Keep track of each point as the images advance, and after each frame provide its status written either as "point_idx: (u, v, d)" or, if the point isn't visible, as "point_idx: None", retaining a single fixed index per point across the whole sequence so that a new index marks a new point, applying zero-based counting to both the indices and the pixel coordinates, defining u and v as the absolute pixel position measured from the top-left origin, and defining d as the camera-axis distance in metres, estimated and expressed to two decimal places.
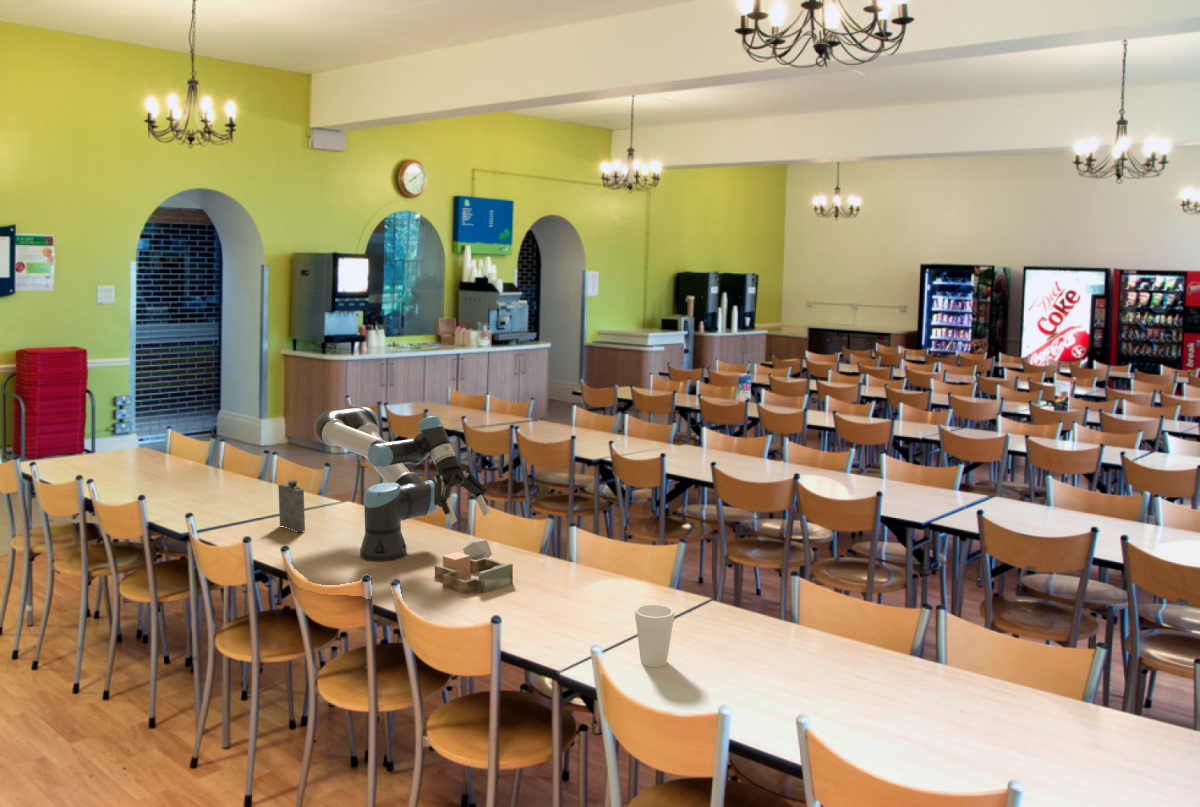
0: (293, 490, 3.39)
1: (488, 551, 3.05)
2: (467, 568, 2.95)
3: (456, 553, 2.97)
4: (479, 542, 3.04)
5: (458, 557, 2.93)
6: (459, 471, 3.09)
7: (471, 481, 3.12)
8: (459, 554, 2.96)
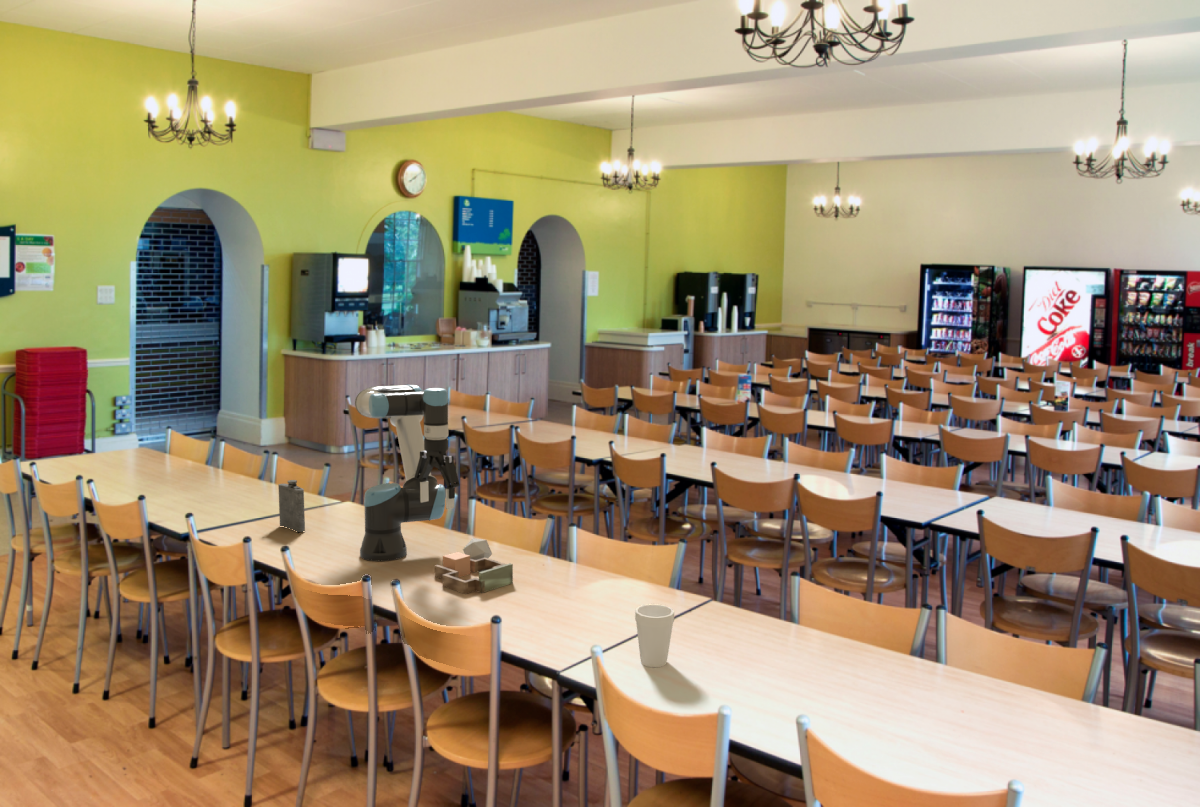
0: (293, 490, 3.39)
1: (488, 551, 3.05)
2: (467, 568, 2.95)
3: (456, 553, 2.97)
4: (479, 542, 3.04)
5: (458, 557, 2.93)
6: (439, 455, 2.95)
7: None
8: (459, 554, 2.96)
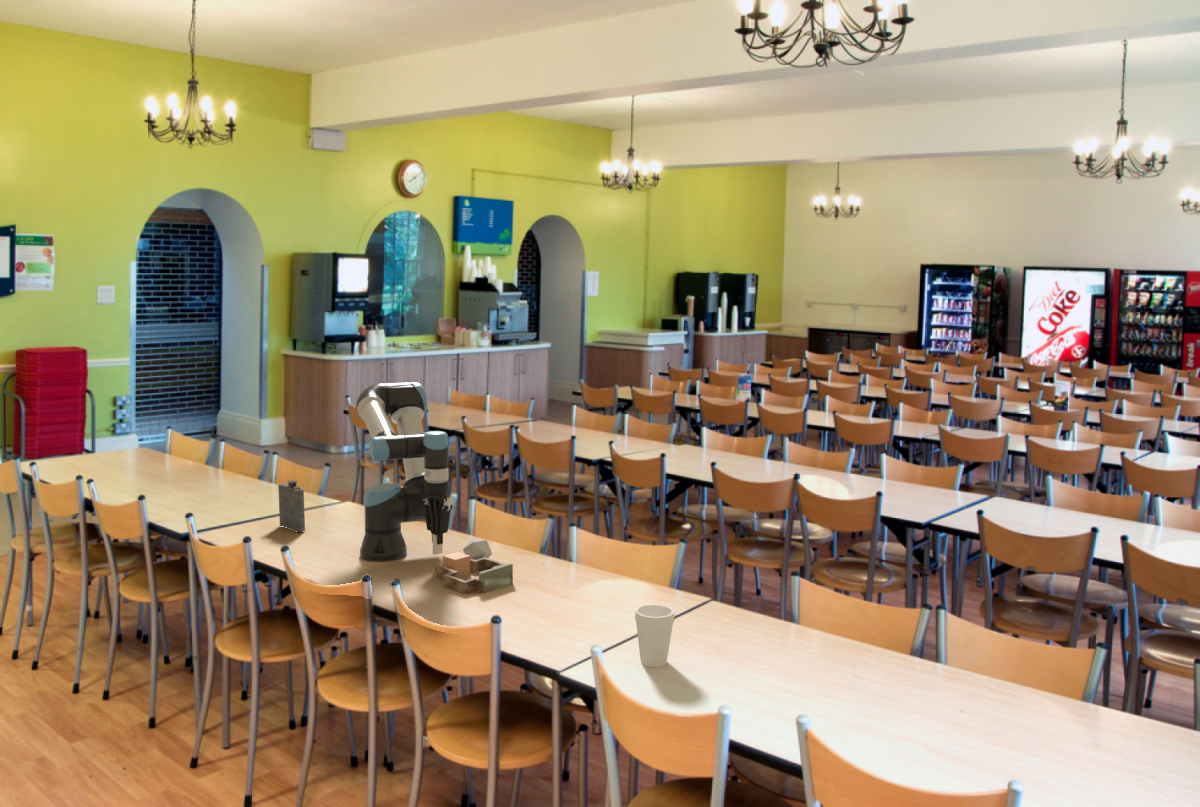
0: (293, 490, 3.39)
1: (488, 551, 3.05)
2: (467, 568, 2.95)
3: (456, 553, 2.97)
4: (479, 542, 3.04)
5: (458, 557, 2.93)
6: (440, 498, 2.96)
7: None
8: (459, 554, 2.96)
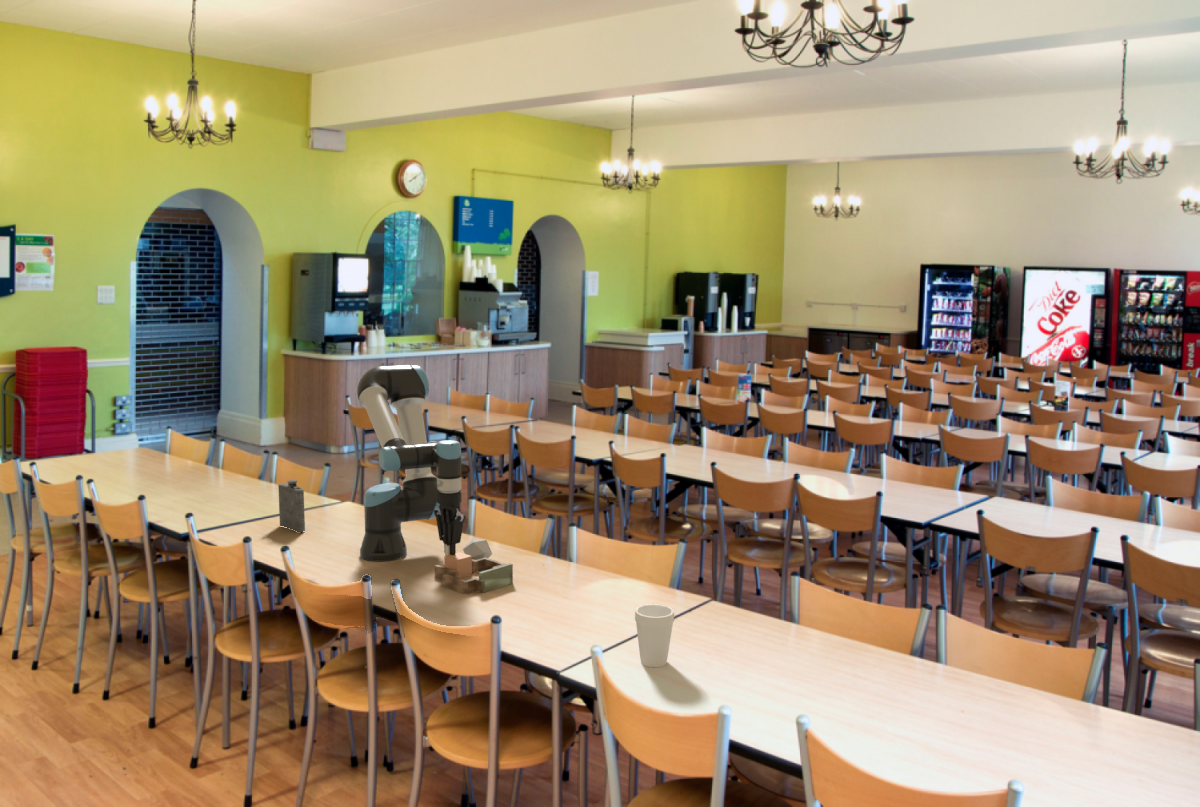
0: (293, 490, 3.39)
1: (488, 551, 3.05)
2: (469, 568, 2.94)
3: (458, 553, 2.97)
4: (479, 542, 3.04)
5: (460, 557, 2.93)
6: (453, 508, 2.92)
7: None
8: (461, 554, 2.96)
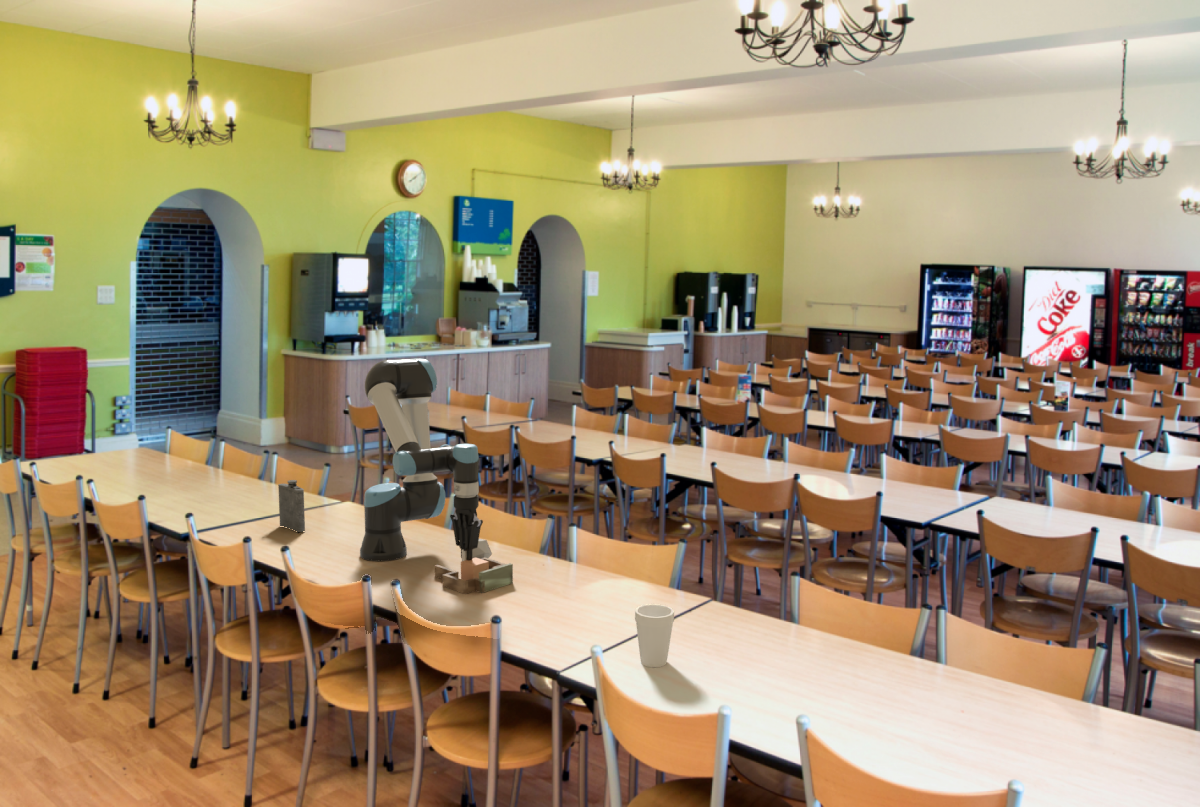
0: (293, 490, 3.39)
1: (488, 551, 3.05)
2: None
3: (474, 559, 2.92)
4: (479, 542, 3.04)
5: (476, 563, 2.87)
6: (470, 513, 2.87)
7: None
8: (478, 560, 2.91)
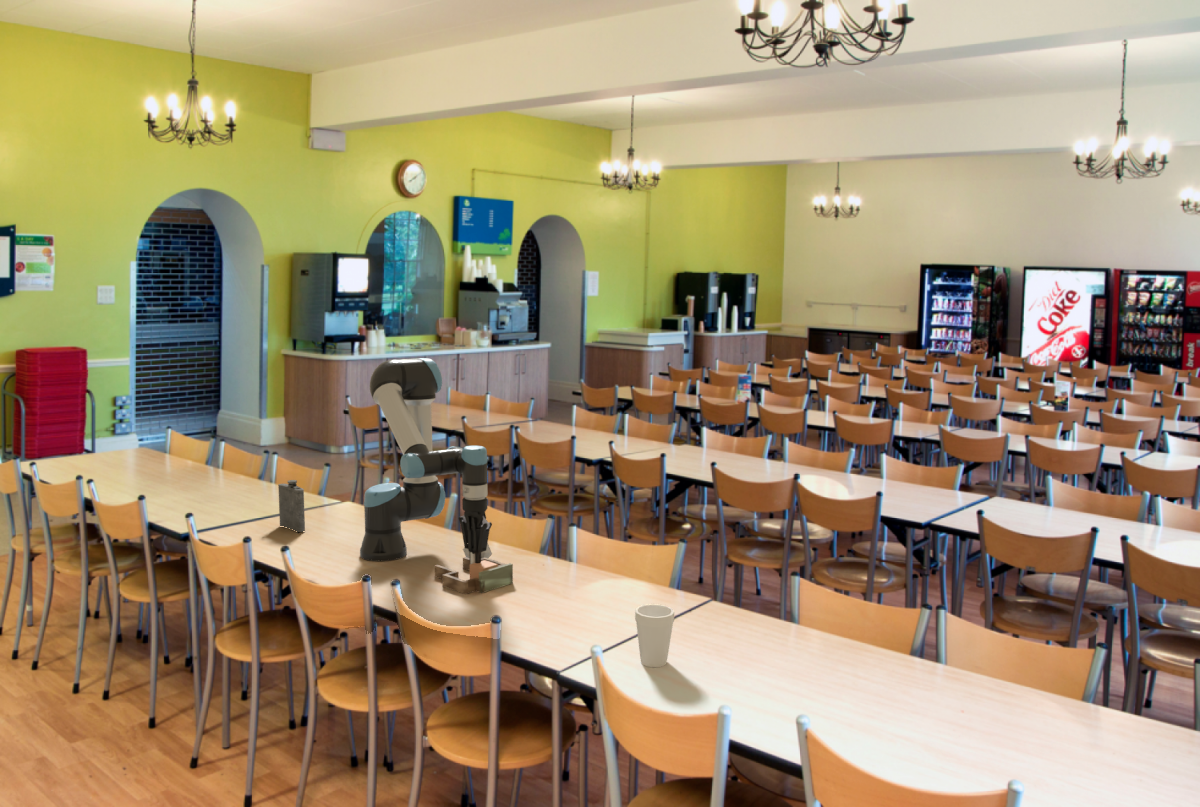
0: (293, 490, 3.39)
1: (488, 551, 3.05)
2: None
3: (483, 561, 2.89)
4: None
5: (485, 566, 2.85)
6: (479, 515, 2.84)
7: None
8: (486, 562, 2.88)
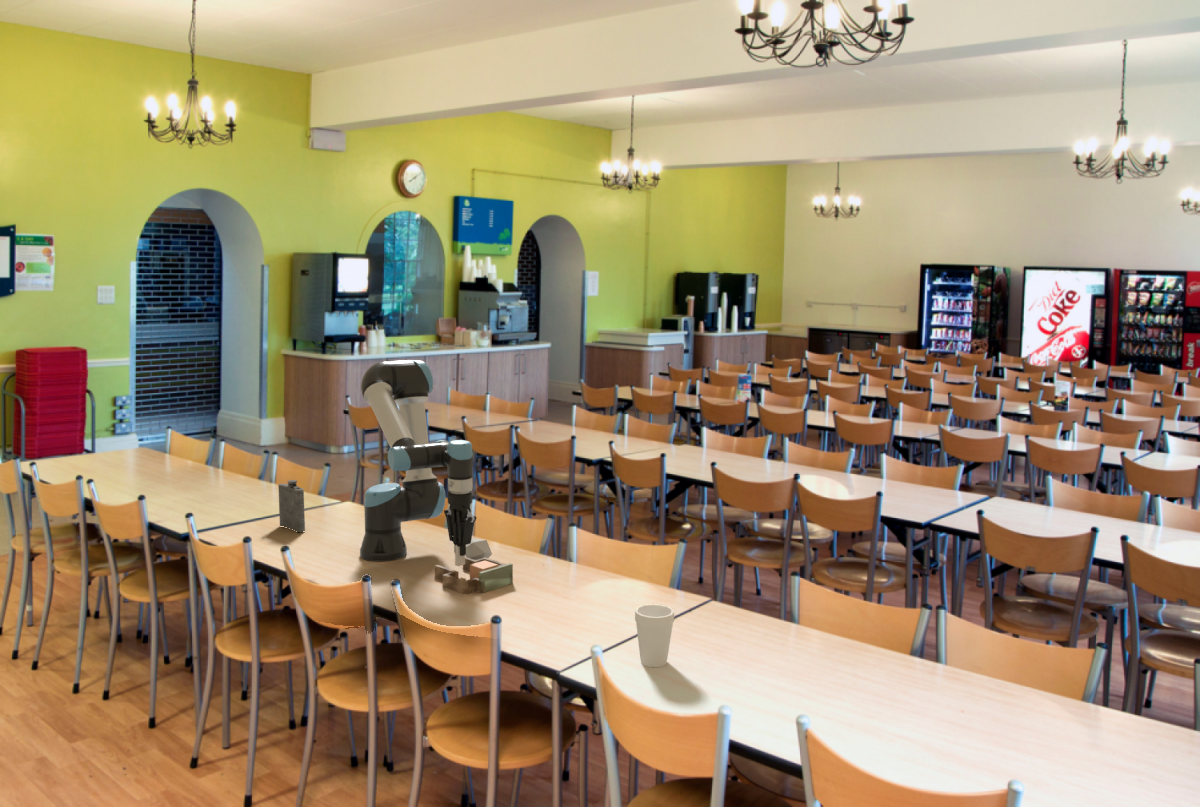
0: (293, 490, 3.39)
1: (488, 551, 3.05)
2: None
3: (483, 562, 2.89)
4: (479, 542, 3.04)
5: (486, 566, 2.85)
6: (463, 509, 2.89)
7: None
8: (487, 563, 2.88)
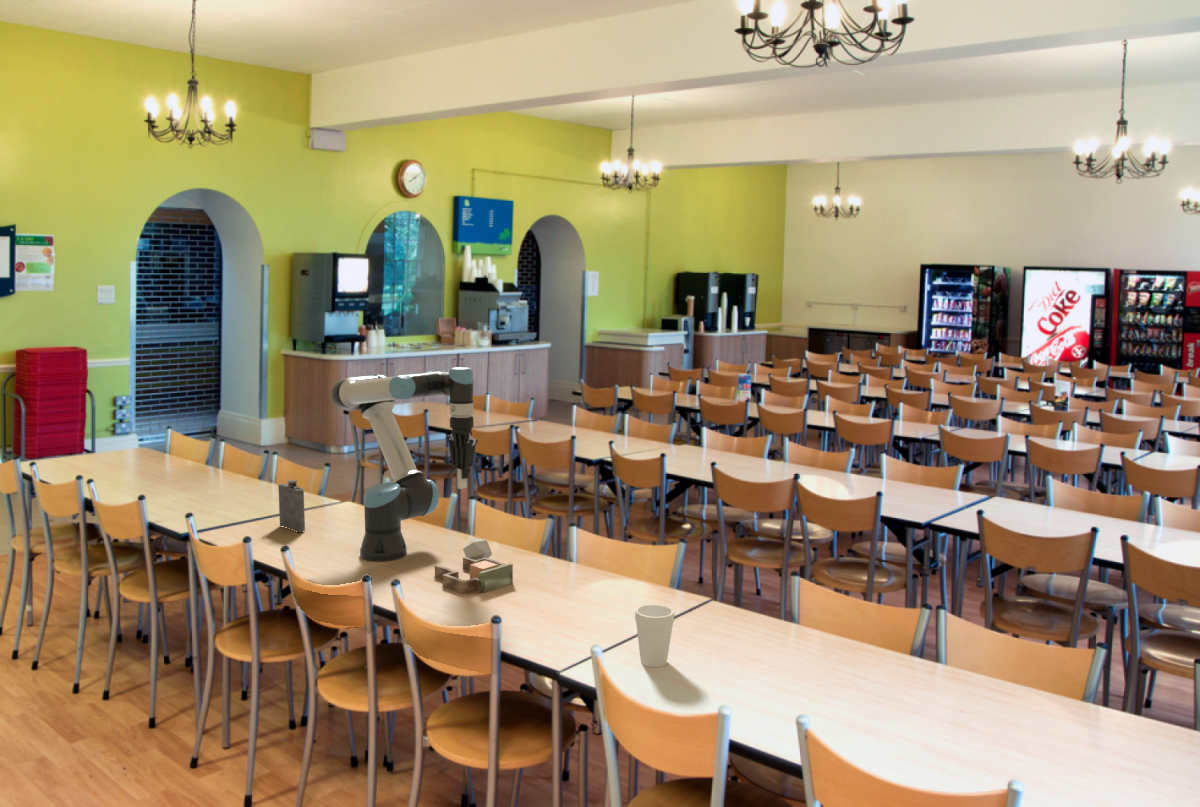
0: (293, 490, 3.39)
1: (488, 551, 3.05)
2: None
3: (483, 562, 2.89)
4: (479, 542, 3.04)
5: (486, 566, 2.85)
6: (465, 432, 3.00)
7: None
8: (487, 563, 2.88)
